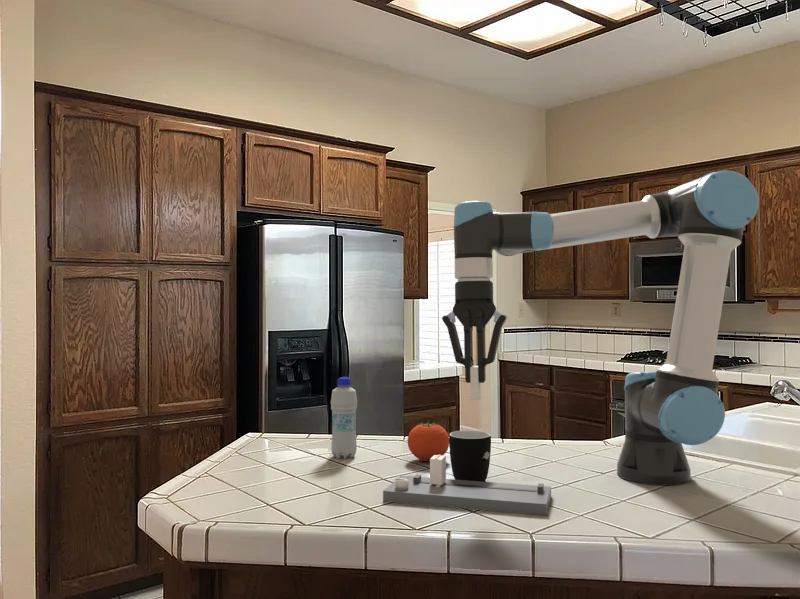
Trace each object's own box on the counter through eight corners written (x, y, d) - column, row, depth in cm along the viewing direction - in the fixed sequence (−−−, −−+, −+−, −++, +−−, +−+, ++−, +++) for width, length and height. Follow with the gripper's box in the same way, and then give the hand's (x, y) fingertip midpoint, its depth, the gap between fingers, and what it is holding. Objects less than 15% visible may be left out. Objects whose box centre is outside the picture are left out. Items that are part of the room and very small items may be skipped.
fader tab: (445, 480, 135) (445, 454, 135) (441, 484, 132) (441, 458, 132) (434, 479, 136) (434, 454, 136) (430, 484, 132) (429, 457, 132)
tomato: (458, 462, 160) (458, 420, 160) (424, 468, 155) (423, 425, 155) (432, 454, 169) (432, 414, 169) (399, 459, 163) (399, 418, 163)
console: (551, 496, 131) (551, 478, 131) (546, 515, 120) (546, 494, 120) (400, 485, 140) (400, 467, 140) (383, 501, 129) (383, 481, 129)
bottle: (362, 455, 167) (362, 376, 168) (346, 461, 162) (346, 378, 162) (341, 452, 171) (341, 374, 171) (325, 457, 165) (324, 377, 166)
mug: (488, 488, 137) (488, 439, 138) (445, 485, 140) (445, 437, 140) (495, 474, 149) (495, 428, 149) (455, 471, 151) (455, 427, 151)
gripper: (509, 280, 134) (511, 397, 133) (445, 281, 137) (447, 395, 137) (504, 278, 126) (506, 402, 126) (437, 280, 130) (439, 401, 130)
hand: (475, 399), depth 132 cm, fingers closed
